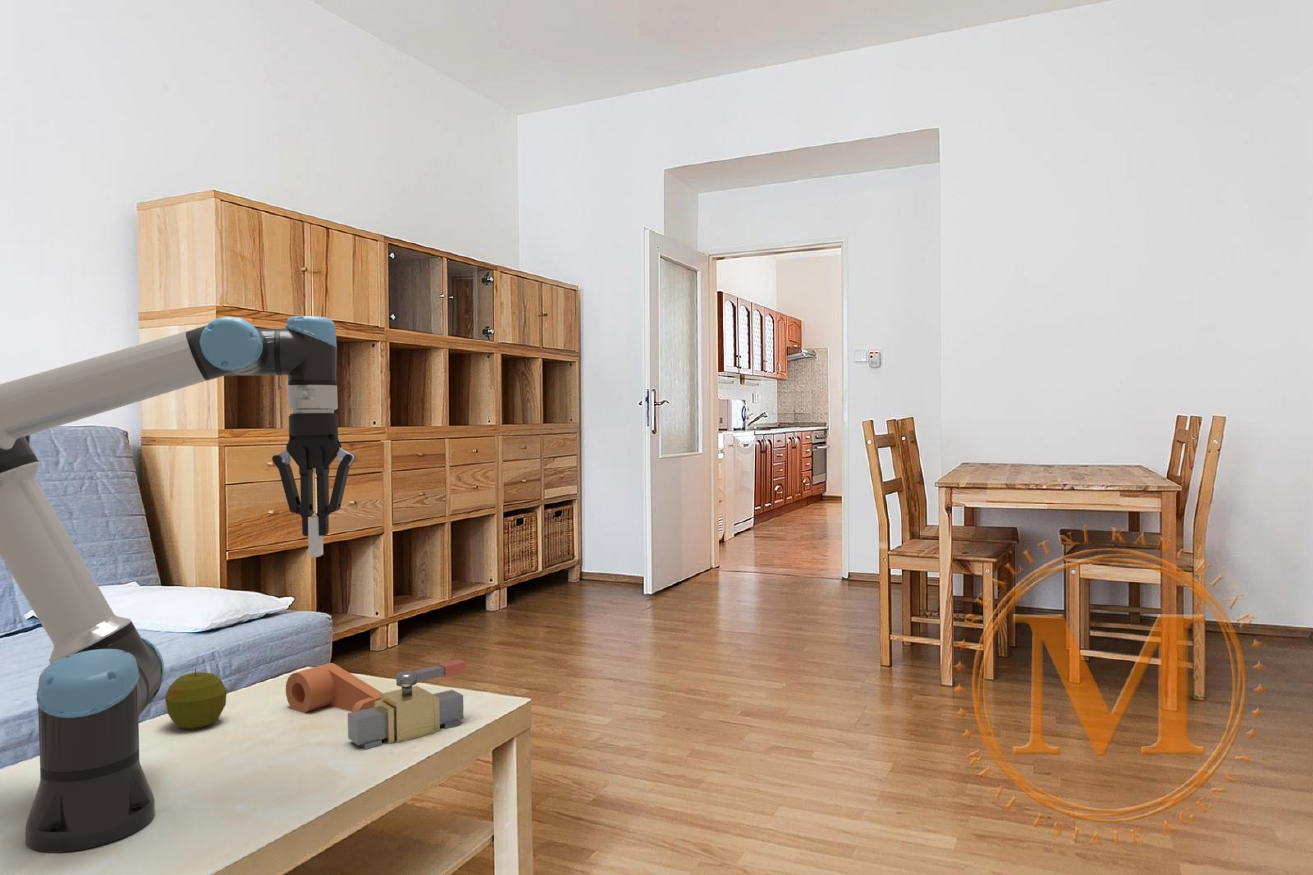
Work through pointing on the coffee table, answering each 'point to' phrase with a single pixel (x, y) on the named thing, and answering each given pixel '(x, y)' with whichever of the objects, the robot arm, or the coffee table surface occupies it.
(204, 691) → the apple
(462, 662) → the lever
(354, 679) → the orange bent piece
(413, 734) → the grey and tan assembly
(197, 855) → the coffee table surface
